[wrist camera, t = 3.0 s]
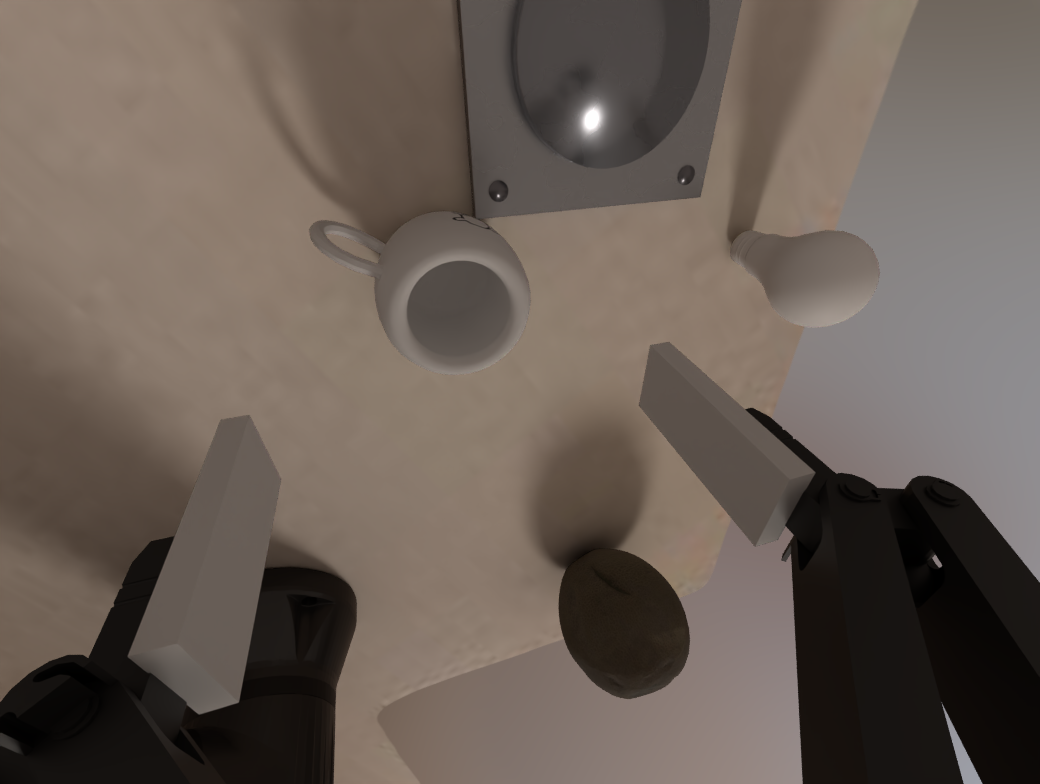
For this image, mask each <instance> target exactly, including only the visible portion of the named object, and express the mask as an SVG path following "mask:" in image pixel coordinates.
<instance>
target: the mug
mask: <svg viewBox="0 0 1040 784" xmlns="http://www.w3.org/2000/svg"><path fill="white" fill-rule="evenodd" d="M309 232H310V238H311V240H312V242H313V243H314V245H315V246H316V247H317V248H318V249H319V250H320V251H321V252H322V253H323V254H325V255H326V256H328V257H329V258H331V259H332V260H333V261H335V262H336V263H338V264H340V265H343V266H345V267H347V268H349V269H351V270H353V271H356V272H359V273H363V274H366V275H369V276H372V277H375V287H374V289H375V301H376V306H377V311H378V315H379V319H380V321H381V323H382V326H383V328H384V330H385V332H386V334H387V337H388V338H389V340H390V341H391V343H392V344H393V346H394V347H395V348H396V349H397V350H398V351H399V352H400V353H401V354H402V355H403V356H404V357H406V358H407V359H408V360H410V361H411V362H413V363H415V364H417V365H418V366H420V367H422V368H424V369H426V370H429V371H432V372H435V373H440V374H447V375H462V374H468V373H474V372H477V371H480V370H483V369H485V368H487V367H489V366H491V365H493V364H494V363H496V362H498V361H499V360H501V359H502V358H503V357H504V356H505V355H506V354H508V353H509V352H510V350H511V349H512V348H513V347H514V346H515V345H516V343H517V342H518V340H519V339H520V337H521V335H522V333H523V331H524V329H525V326H526V322H527V319H528V315H529V310H530V288H529V282H528V279H527V277H526V274H525V271H524V269H523V266H522V264H521V262H520V260H519V258H518V257H517V255H516V253H515V252H514V250H513V249H512V248H511V246H510V245H509V244H508V243H507V242H506V240H505V239H504V238H503V237H502V236H501V235H500V234H498V233H497V232H496V231H495V230H494V229H493V228H492V227H490V226H488V225H487V224H485V223H484V222H482V221H480V220H479V219H477V218H474V217H472V216H469V215H466V214H462V213H458V212H450V211H438V212H430V213H426V214H423V215H419V216H417V217H415V218H413V219H411V220H409V221H408V222H406V223H405V224H404V225H402V226H401V227H400V228H399V229H398V230H397V231H396V232H395V233H394V234H393V235H392V236H391V238H390V239H389V240H388V242H387V243H386V244H385V243H383V242H382V241H380V240H378V239H376V238H375V237H373V236H371V235H369V234H367V233H365V232H363V231H361V230H358V229H356V228H354V227H351V226H348V225H345V224H342V223H338V222H334V221H327V220H320V221H317V222H315V223H314V224H313V225H312V226H311V227H310V229H309ZM325 234H335V235H339V236H342V237H345V238H348V239H351V240H353V241H356V242H358V243H360V244H362V245H364V246H366V247H368V248H370V249H372V250H374V251H375V252H377V253H380V254H381V255H380V257H379V261H378V264H376V263H373V262H371V261H368V260H365V259H362V258H359V257H356V256H354V255H352V254H350V253H348V252H346V251H344V250H342V249H340V248H339V247H337V246H336V245H334V244H333V243H332V242H331V241H330V240H329V239H328V238H327V237H326V235H325Z"/></svg>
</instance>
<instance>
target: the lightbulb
mask: <svg viewBox="0 0 1040 784" xmlns="http://www.w3.org/2000/svg"><path fill="white" fill-rule="evenodd" d="M730 256H731V259H732V260H733V261H735V262H736V263H737V264H739V265H741V266H742V267H744V268H745V269H746V271H747V272H748V273H749V274H750V275H752V276H753V277H755V278H756V279H757V280H758V281H759V282H760V283H761V284H762V286H763V287H764V290H765V293H766V295H767V298H768V300H769V302H770V304H771V306H772V308H773V309H774V310H775V311H776V312H777V313H778V314H779V315H780V316H781V317H782V318H784V319H785V320H787V321H789V322H791V323H793V324H796V325H800V326H804V327H824V326H829V325H833V324H837V323H840V322H843V321H845V320H847V319H848V318H850V317H851V316H853V315H855V314H856V313H857V312H859V311H860V310H861V309H862V308H863V307H864V306H865V305H866V304H867V303H868V302H869V300H870V299H871V297H872V296H873V294H874V292H875V290H876V287H877V284H878V280H879V275H880V271H879V264H878V260H877V258H876V256H875V253H874V251H873V249H872V248H871V247H870V246H869V245H868V244H866V242H865V241H863V240H862V239H860V238H859V237H857V236H855V235H853V234H850V233H847V232H844V231H830V230H825V231H819V232H814V233H809V234H804V235H801V236H797V237H785V236H780V235H777V234H763V233H760V232H757V231H753V230H748V231H745V232H743V233H741V234H740V235H738V236H737V237H736V238H735V240H734V241H733V243H732V245H731V248H730Z"/></svg>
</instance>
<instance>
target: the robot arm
mask: <svg viewBox="0 0 1040 784" xmlns="http://www.w3.org/2000/svg"><path fill="white" fill-rule="evenodd" d="M639 406H640V407H641V409H642V410H643V411H644V412H645V414H646V415H647V416H648V417H649V418H650V420H651V421H652V422H653V423H654V425H655V426H656V427H657V428H658V429H659V431H660V432H661V433H662V434H663V435H664V437H665V438H666V439H667V440H668V442H669V443H670V444H671V445H672V446H673V448H674V449H675V450H676V451H677V452H678V454H679V455H680V456H681V457H682V459H683V460H684V461H685V462H686V463H687V465H688V466H689V467H690V468H691V470H692V471H693V472H694V473H695V474H696V476H697V477H698V478H699V479H700V480H701V482H702V483H703V484H704V485H705V487H706V488H707V489H708V490H709V491H710V493H711V494H712V495H713V496H714V498H715V499H716V500H717V501H718V502H719V504H720V505H721V506H722V507H723V508H724V510H725V511H726V512H727V513H728V515H729V516H730V517H731V518H732V519H733V521H734V522H735V523H736V524H737V525H738V527H739V528H740V529H741V530H742V531H743V533H744V534H745V535H746V536H747V538H748V539H749V540H750V541H751V543H752V544H753V545H754V546H755V547H756V546H760V545H763V544H766V543H769V542H773V541H776V540H778V539H779V537H780V535H781V534H782V532H783V530H784V528H785V526H786V527H787V528H788V529H789V530H790V531H791V532H792V533H793V535H794V536H793V538H792V539H791V541H790V543H789V544H788V546H787V548H786V550H785V551H784V553H783V556H782V561H785V562H786V560H787V559H788V557H789V555H790V554H791V560H792V581H793V600H794V620H795V640H796V659H797V678H798V699H799V718H800V738H801V758H802V777H803V784H964V783H963V780H962V776H961V773H960V769H959V765H958V761H957V758H956V754H955V750H954V747H953V743H952V740H951V736H950V732H949V728H948V725H947V721H946V718H945V714H944V710H943V707H942V704H943V706H944V708H945V710H946V712H947V714H948V716H949V718H950V720H951V722H952V724H953V726H954V728H955V730H956V732H957V734H958V736H959V738H960V740H961V741H962V744H963V746H964V748H965V750H966V752H967V754H968V756H969V758H970V760H971V762H972V763H973V765H974V768H975V770H976V772H977V774H978V776H979V777H980V779H981V782H982V783H983V784H1040V582H1039V581H1038V580H1037V579H1036V577H1035V576H1034V575H1033V574H1032V573H1031V571H1030V570H1029V569H1028V568H1027V566H1026V565H1025V564H1024V563H1023V561H1022V560H1021V559H1020V558H1019V556H1018V555H1017V554H1016V553H1015V551H1014V550H1013V549H1012V548H1011V546H1010V545H1009V544H1008V543H1007V542H1006V540H1005V539H1004V538H1003V536H1002V535H1001V534H1000V533H999V532H998V530H997V529H996V528H995V527H994V525H993V524H992V523H991V522H990V520H989V519H988V518H987V517H986V516H985V514H984V513H983V512H982V511H981V509H980V508H979V507H978V505H977V504H976V503H975V502H974V501H973V499H972V498H971V497H970V496H969V495H967V494H966V493H965V492H964V491H963V490H962V489H960V488H959V487H957V486H955V485H954V484H952V483H950V482H947V481H945V480H942V479H940V478H936V477H931V476H917V477H915V478H913V479H912V480H911V481H910V482H909V484H908V485H907V486H906V488H905V489H889V488H888V489H887V488H877V487H875V485H873V484H872V483H870V482H868V481H867V480H865V479H863V478H860V477H858V476H855V475H852V474H844V473H838V474H836V473H835V472H833V471H832V470H831V469H830V468H829V467H827V466H826V465H825V464H824V463H823V462H822V461H821V460H819V459H818V458H817V457H816V456H815V455H814V454H812V453H811V452H810V451H809V450H808V449H807V448H805V447H804V446H803V445H802V444H801V443H800V442H798V441H797V440H796V439H793V437H792V436H791V435H790V434H789V433H788V432H787V431H785V430H783V429H782V427H781V426H780V425H778V424H777V423H776V422H775V421H774V420H773V419H772V418H770V417H769V416H767V415H765V414H763V413H761V412H760V411H758V410H756V409H754V408H749V409H744V408H743V407H742V406H740V405H739V404H738V403H737V402H736V401H735V400H734V399H733V398H732V397H730V396H729V395H728V394H727V393H726V392H725V391H724V390H723V389H721V388H720V387H719V386H718V385H717V384H716V383H715V382H714V381H712V380H711V379H710V378H709V377H708V376H707V375H706V374H705V373H703V372H702V371H701V370H700V369H699V368H698V367H697V366H696V365H695V364H693V363H692V362H691V361H690V360H689V359H688V358H687V357H686V356H684V355H683V354H682V353H681V352H680V351H679V350H678V349H677V348H675V347H674V346H673V345H672V344H671V343H670V342H666V343H660V344H654V345H650V349H649V354H648V360H647V365H646V370H645V376H644V381H643V386H642V392H641V397H640V402H639ZM280 483H281V477H280V475H279V473H278V471H277V469H276V467H275V465H274V463H273V461H272V459H271V457H270V455H269V453H268V451H267V449H266V447H265V445H264V443H263V441H262V439H261V437H260V435H259V433H258V431H257V429H256V427H255V425H254V423H253V421H252V419H251V417H250V415H246V416H240V417H234V418H229V419H223V420H220V423H219V425H218V428H217V431H216V433H215V436H214V438H213V441H212V443H211V446H210V448H209V451H208V453H207V456H206V458H205V461H204V464H203V466H202V469H201V471H200V474H199V476H198V479H197V481H196V484H195V486H194V489H193V492H192V494H191V497H190V499H189V502H188V504H187V507H186V509H185V512H184V514H183V517H182V519H181V522H180V525H179V527H178V530H177V532H176V535H175V536H173V537H169V538H164V539H160V540H155V541H151V542H150V543H149V544H148V545H147V546H146V548H145V549H144V550H143V551H142V552H141V553H140V554H139V556H138V557H137V558H136V559H135V560H134V561H133V562H132V564H131V566H130V568H129V571H128V573H127V575H126V577H125V579H124V582H123V584H122V586H123V588H122V589H120V590H119V592H118V595H117V597H116V599H115V601H114V607H112V608H111V610H110V612H109V614H108V616H107V619H106V621H105V623H104V625H103V627H102V630H101V632H100V634H99V636H98V638H97V640H96V643H95V645H94V647H93V649H92V651H91V654H90V656H89V658H87V657H85V656H84V655H67V656H64V657H61V658H58V659H55V660H52V661H49V662H48V663H46V664H44V665H43V666H41V667H39V668H38V669H36V670H34V671H32V672H31V673H29V674H28V675H27V676H26V677H25V678H23V679H22V680H21V681H20V682H19V683H18V684H16V685H15V686H14V687H13V688H12V689H11V690H10V691H9V692H8V693H7V695H6V696H5V697H4V698H3V700H2V701H1V702H0V784H334V748H335V703H336V687H337V683H338V680H339V677H340V674H341V671H342V668H343V665H344V662H345V659H346V656H347V653H348V650H349V647H350V644H351V641H352V638H353V635H354V632H355V628H356V621H357V602H356V597H355V594H354V592H353V590H352V589H351V588H350V587H349V586H348V585H347V584H346V583H345V582H343V581H342V580H340V579H338V578H336V577H334V576H332V575H330V574H327V573H323V572H320V571H315V570H309V569H300V568H277V569H267V570H264V568H265V562H266V557H267V552H268V546H269V541H270V536H271V531H272V525H273V520H274V515H275V510H276V504H277V499H278V494H279V489H280ZM935 554H936V556H937V558H938V559H939V561H940V562H941V564H942V567H940V568H939V567H938V566H937V565H936V564H935V562H934V561H933V559H932V557H933V556H934V555H935ZM941 702H942V703H941Z"/></svg>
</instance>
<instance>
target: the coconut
mask: <svg viewBox="0 0 1040 784" xmlns="http://www.w3.org/2000/svg"><path fill="white" fill-rule="evenodd" d="M559 619H560V625H561V630H562V633H563V637H564V640H565V643H566V645H567V648H568V650H569V652H570V654H571V655H572V657H573V659H574V660H575V661H576V662H577V664H578V665H579V666H580V667H581V669H582V670H583V671H584V672H585V673H586V675H587V676H588V677H589V678H590V679H591V681H592V682H594V683H595V684H596V685H597V686H598V687H600V688H602V689H603V690H605V691H606V692H608V693H610V694H612V695H614V696H616V697H620V698H625V699H632V698H637V697H640V696H643V695H646V694H650V693H653V692H655V691H657V690H659V689H662V688H663V687H665V686H666V685H668V684H669V683H670V682H671V681H672V680H673V679H674V677H676V676H678V675H679V673H680V672H681V671H682V669H683V668H684V665H685V663H686V660H687V657H688V654H689V645H690V635H689V627H688V623H687V619H686V615H685V612H684V609H683V607H682V604H681V602H680V600H679V598H678V596H677V594H676V593H675V591H674V589H673V588H672V587H671V585H670V584H669V583H668V581H667V580H666V579H665V578H664V577H663V576H662V575H661V574H660V573H659V572H658V571H657V570H656V569H655V568H653V567H652V566H651V565H650V564H648V563H647V562H646V561H644V560H643V559H641V558H639V557H637V556H635V555H633V554H631V553H628V552H625V551H621V550H614V549H596V550H593V551H591V552H589V553H587V554H586V555H584V556H582V557H580V558H579V559H578V560H576V561H575V562H573V563H572V564H571V565H570V566H569V567H568V568H567V570H566V571H565V574H564V576H563V578H562V582H561V587H560V593H559Z"/></svg>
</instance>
